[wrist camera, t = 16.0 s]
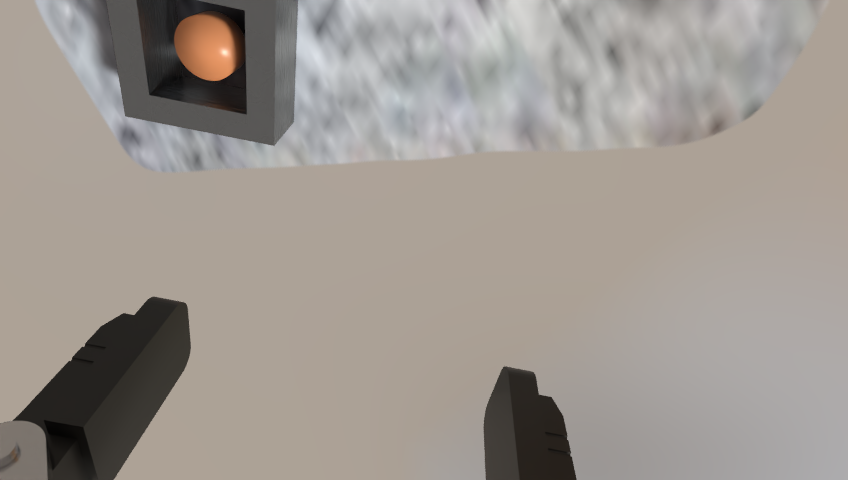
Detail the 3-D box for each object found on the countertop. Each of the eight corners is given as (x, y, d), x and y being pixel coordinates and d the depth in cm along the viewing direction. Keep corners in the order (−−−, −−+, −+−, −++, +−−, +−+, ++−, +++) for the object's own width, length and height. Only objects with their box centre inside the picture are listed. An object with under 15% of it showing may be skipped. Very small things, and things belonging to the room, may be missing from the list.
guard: (141, -60, 34) (96, -56, 30) (298, -26, 34) (276, -18, 30) (160, 95, 40) (125, 116, 36) (293, 122, 40) (274, 145, 36)
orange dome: (185, 4, 35) (170, 9, 33) (246, 17, 35) (235, 22, 33) (190, 67, 37) (177, 74, 35) (247, 78, 37) (237, 86, 36)
